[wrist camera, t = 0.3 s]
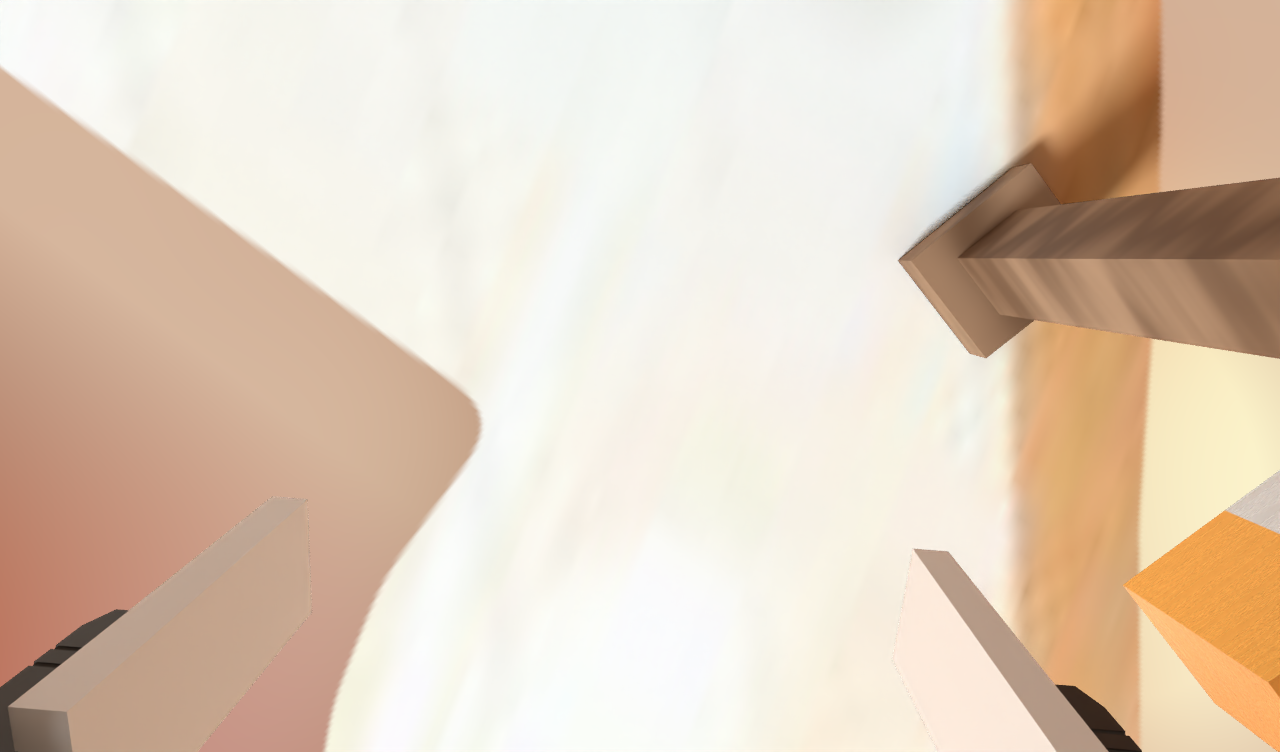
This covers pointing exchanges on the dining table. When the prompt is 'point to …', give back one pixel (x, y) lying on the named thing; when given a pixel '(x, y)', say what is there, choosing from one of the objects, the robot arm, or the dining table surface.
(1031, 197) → the walnut stand
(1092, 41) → the dining table surface
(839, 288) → the dining table surface
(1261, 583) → the grey block
